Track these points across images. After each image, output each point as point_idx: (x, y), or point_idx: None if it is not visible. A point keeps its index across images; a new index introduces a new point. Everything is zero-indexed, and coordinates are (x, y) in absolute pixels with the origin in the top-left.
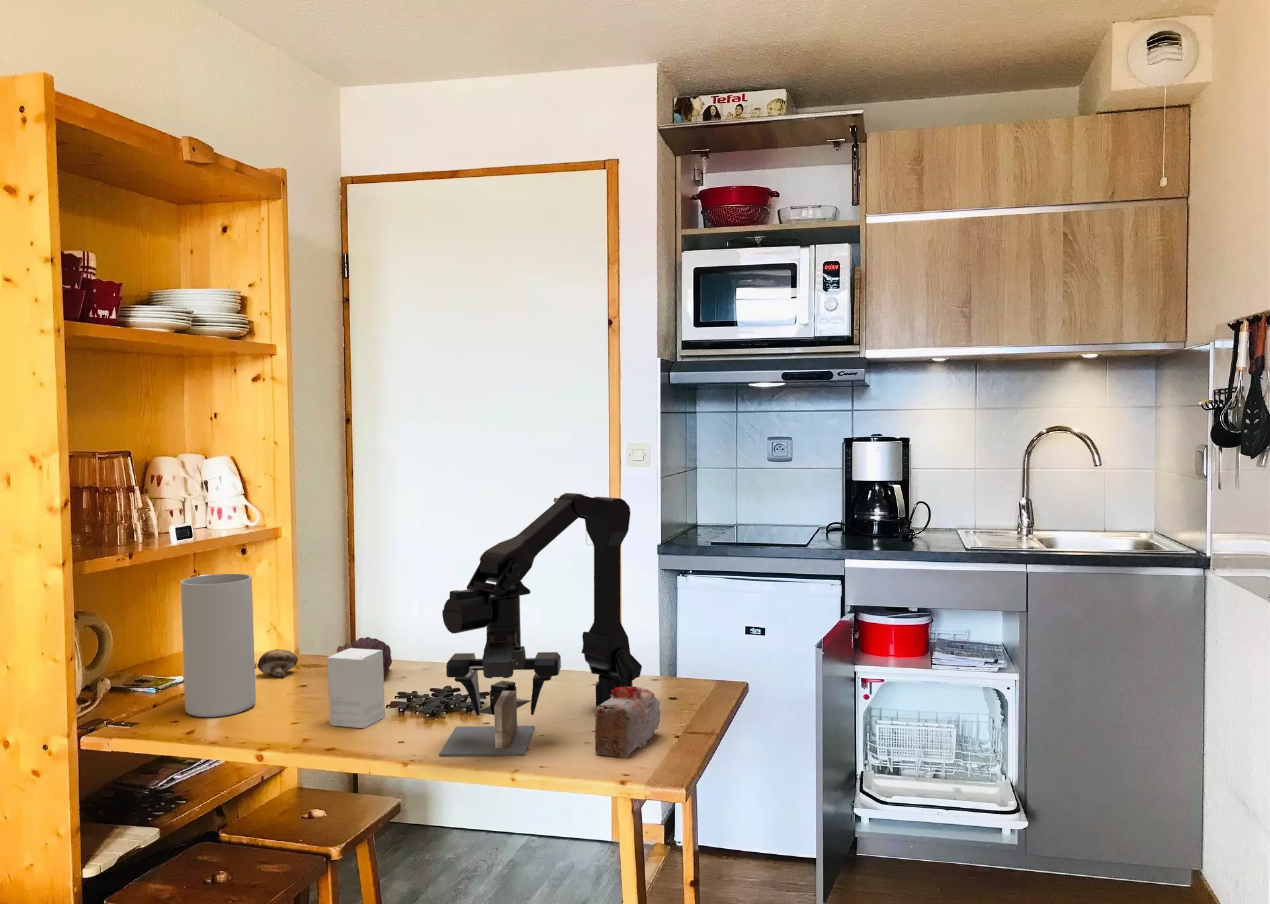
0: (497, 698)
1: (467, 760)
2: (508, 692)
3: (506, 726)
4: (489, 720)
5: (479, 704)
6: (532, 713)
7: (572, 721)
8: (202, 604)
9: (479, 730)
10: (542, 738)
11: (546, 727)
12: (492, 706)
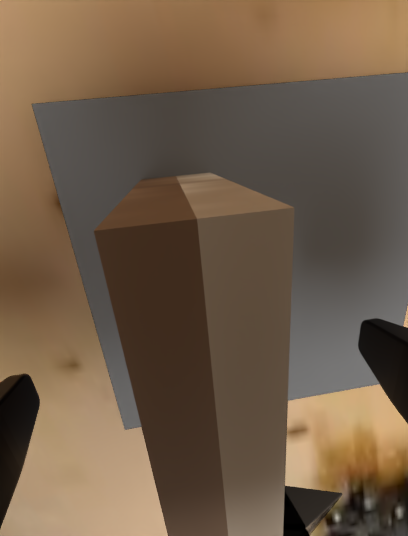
0: None
1: (314, 9)
2: None
3: (148, 191)
4: (291, 450)
5: (404, 386)
6: (9, 378)
7: (17, 488)
8: None
9: (310, 360)
10: (52, 334)
11: (85, 431)
12: (299, 525)
